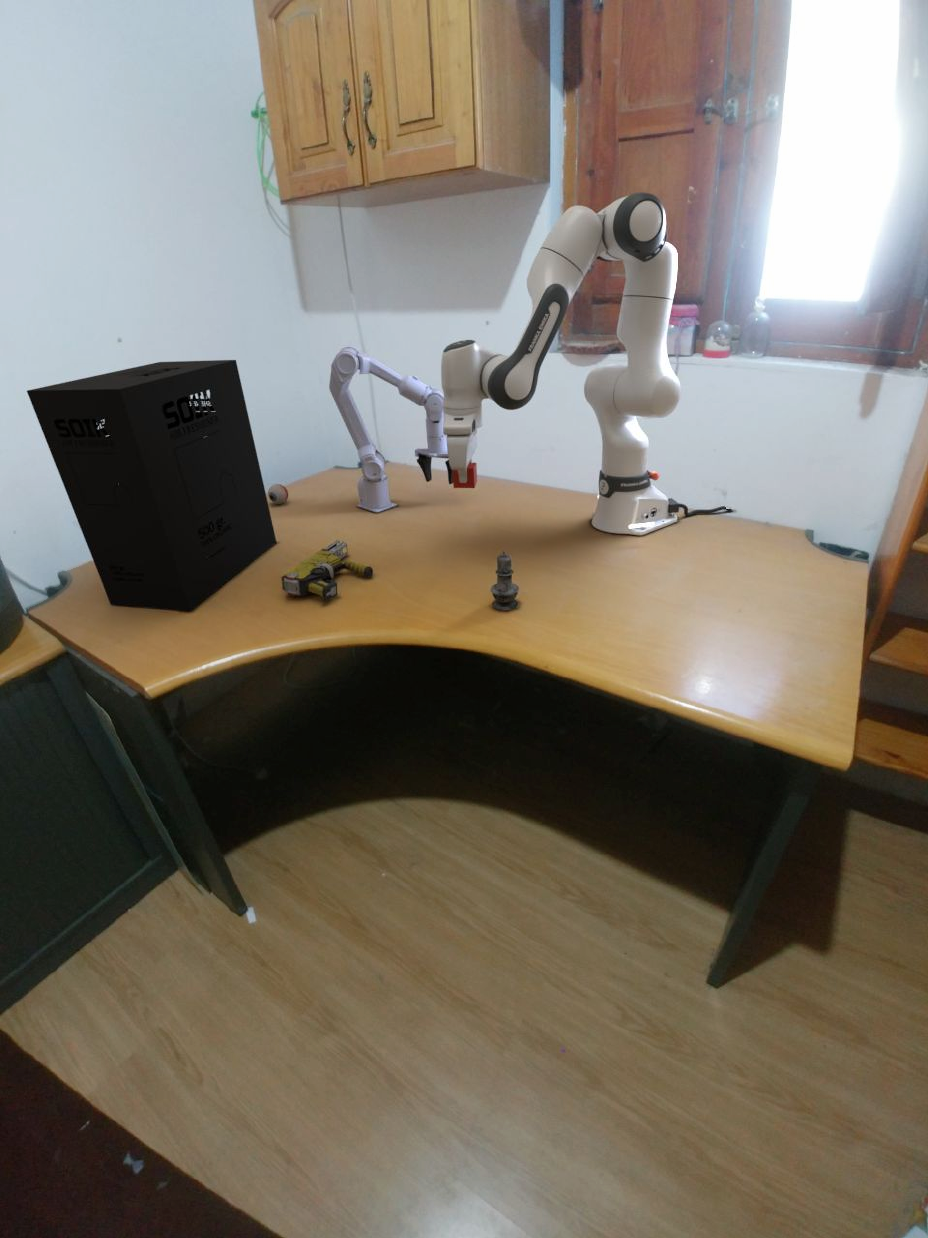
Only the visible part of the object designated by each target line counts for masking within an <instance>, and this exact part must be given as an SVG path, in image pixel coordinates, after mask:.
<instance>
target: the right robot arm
mask: <svg viewBox="0 0 928 1238" xmlns="http://www.w3.org/2000/svg"><path fill="white" fill-rule="evenodd" d="M665 210H666V209H665V206H664V205H663V203H662V201H661V200H660V198H658V197H657V196H656V195H654V194H653V193H649V192H641V191H639V192H634V193H631V194H629V195H625V196H623V197H620V198H618V199H616V200H614V201H613V202H612V203H610V204H609V205H607V206H604V207H603V208H601V209H599V210H598V211H596V212H595V211H594V210H592V209H591V208H590V207H587V206H585V205H572V206H570V207H569V208H567V209H566V210H565V211H564V212H563V214H562V215H561V216H560V217H559V219H558V220H557V221H556V223H555V224H554V226H553V227H552V228H551V230H550V232H549V233H548V234H547V236H546V237H545V239H544V241H543V242H542V244H541V245H540V248H539V250H538V252H537V254H535V255H536V256H535V257H534V259H533V261H532V263H531V266H530V269H529V272H528V274H527V277H526V289H527V292H528V295H529V297H530V299H531V303H532V304H531V305H532V307H531V309H532V310H531V314H530V317H529V320H528V322H527V324H526V326H525V328H524V330H523V332H522V334H521V336H520V338H519V340H518V342H517V344H516V346H515V349H514V350H513V352H511V353H510V355H508V356H507V355H504V354H502V353H498V352H495V351H493V350H490V349H488V348H486V347H485V346H483V345H481V344H479V342H477V341H476V340H473V339H464V340H459V341H456V342H452V343H450V344H449V345H446V347H445V348H444V349H443V351H442V354H441V361H440V380H441V390H442V393H443V396H444V401H443V418H444V424H443V434H444V435H447V437H446V441H447V450H448V458H449V459H448V458H447V459H448V460H449V464H450V467H451V469H452V470H458V474H459V482H460V483H466V482H467V480H468V479H467V466H468V464H469V463H473V462H472V461H473V456H474V454H475V452H476V450H477V448H478V436H477V434H478V429H479V428H481V427H482V426H483V407H482V406H483V405H482V402H483V401H484V400H487V399H489V400H491V401H492V402H494V403H495V404H496V405H497V406H498V407H500V408H502V409H504V410H508V411H514V410H519V409H521V408H523V407H524V406H526V405H527V404H528V403H529V402H530V401H531V400H532V398H533V397H534V395H535V393H536V389H537V387H538V386H537V385H538V380H539V374H540V371H541V367H542V365H543V362H544V361H545V358H546V357H547V354H548V352H549V350H550V348H551V346H552V344H553V341H554V340H555V338H556V335H557V334H558V331H559V329H560V327H561V325H562V323H563V321H564V318H565V316H566V313H567V311H568V308H569V306H570V304H571V301H572V300H573V298H574V296H575V294H576V292H577V290H578V289H579V287H580V285H581V284H582V282H583V279H584V278H585V276H586V274H587V273H588V271H589V269H590V267H591V265H592V264H593V263H594V261H595V260H599V261H603V262H607V263H611V262H616V261H622V263H623V267H624V271H625V282H624V287H623V293H622V297H621V303H620V310H619V315H618V320H617V327H616V336H617V339H618V340H619V342H620V343H621V344H622V345H623V347H624V348H625V351H626V356H627V364H622V363H607V364H602V365H597V366H595V367H594V368H592V369H591V370H590V371H589V373H588V374H587V375H586V378H585V381H584V385H583V394H584V398H585V400H586V402H587V403H588V404H589V405H590V407H591V408H592V410H593V412H594V415H595V416H596V419H597V422H598V425H599V429H600V436H601V441H602V442H601V443H602V444H601V468H600V470H599V474H598V492H599V493H598V495H597V502H596V507H595V511H594V514H593V517H592V520H591V525H592V526H593V527H594V528H595V529H597V530H599V531H601V532H605V533H611V534H623V535H625V534H626V535H632V536H633V535H634V536H645V535H646V534H650V533H652V532H654V531H657V530H660V529H662V528H665V527H668V526H670V525H672V524H675V523H677V522H678V516H677V515H676V514H677V513H679V511H680V508H681V509H683V514H684V516H685V517H691V516H693V515H696V514H712V513H716V512H720V511H722V510H723V511H727V512H728V513H733V512H734V510H733V509H732V508H731V507H729V508H730V509H726V507H725V506H726V505H722V506H718V507H715V508H711V509H710V508H709V509H694V510H692V511H689V507H688V506H687V505H686V504H684V503H681V502H680V503H679V502H677V501H676V500H675V499H673V498H672V497H670V498H668V497H667V496H666V495H665V494H664V493H663V492H661V491H660V490H659V489H658V488H656V487H655V486H654V485H652V483H651V480H653V481H658V479H659V478H660V473H659V472H657V471H654V470H651V471H649V470H648V469H647V466H648V458H649V457H648V456H649V446H650V442H649V437H648V435H647V434H646V433H645V432H644V431H643V430H642V428H641V427H640V424H639V422H638V419H637V418H640V419H646V420H647V419H648V420H649V419H661V418H662V419H663V418H666V417H668V416H669V415H670V414H672V413H673V412H674V411H675V409H676V408H677V406H678V404H679V402H680V399H681V395H682V387H681V383H680V379H679V378H678V376H677V375H676V374H675V372H674V370H673V369H672V366H671V364H670V360H669V357H668V355H669V354H668V347H667V337H668V330H669V325H670V324H669V323H670V318H671V312H672V307H673V301H674V296H675V292H676V285H677V276H678V252H677V249H676V248H675V246H674V245H672V244H671V243H670V242H667V239H668V230H667V215H666V211H665ZM675 513H676V514H675Z"/></svg>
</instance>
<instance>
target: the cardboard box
mask: <svg viewBox="0 0 928 1238" xmlns="http://www.w3.org/2000/svg"><path fill="white" fill-rule="evenodd" d="M238 367H239V366H238V363H237V360H236V359H220V360H219V359H218V360H217V359H215V360H183V361H181V360H180V361H177V360H176V361H157V362H153V363H148V364H144V365H140V366H134V367H130V368H124V369H121V370H116V371H111V372H107V373H103V374H98V375H93V376H89V377H83V378H79V379H75V380H70V381H65V382H61V383H56V384H51V385H46V386H41V387H38V388H33V389H32V388H31V389H28V390H26V393H27V396H28V398H29V401H30V404H31V406H32V409H33V412H34V414H35V416H36V418H37V421H38V424H39V426H40V428H41V431H42V434H43V436H44V439H45V441H46V443H47V446H48V450H49V451H50V454H51V457H52V459H53V462H54V465H55V467H56V469H57V472H58V474H59V477H60V480H61V482H62V485H63V487H64V489H65V492H66V494H67V497H68V499H69V502H70V505H71V508H72V510H73V513H74V515H75V518H76V519H77V522H78V526H79V529H80V530H81V533H82V535H83V538H84V540H85V543H86V546H87V547H88V550H89V553H90V556H91V559H92V561H93V564H94V566H95V569H96V571H97V573H98V576H99V579H100V581H101V584H102V587H103V588H104V591H105V593H106V594H105V595H106V597H107V599H108V602H109V604H110V606H117V607H130V608H144V609H158V610H170V611H171V610H172V611H184V612H192V611H193V610H194V609H196V608H197V607H198V606H199V605H200V604H202V603H203V602H204V601H205V600H206V599H208V598H209V597H211V596H212V595H213V594H214V593H215V592H217V591H218V590H219V589H221V587H223V586H224V585H225V584H227V583H228V582H229V581H230V580H232V579H233V578H234V577H235V576H237V575H238V574H239V573H240V572H241V571H243V570H244V569H245V568H246V567H248V566H249V565H251V564H252V563H253V562H254V561H256V560H257V559H258V558H259V557H260V556H262V555H263V554H264V553H265V552H267V551H268V550H269V549H270V548H271V547H273V546H274V545H276V543H277V538H276V534H275V529H274V524H273V520H272V516H271V511H270V506H269V502H268V496H267V494H266V493H267V492H266V489H265V485H264V480H263V475H262V471H261V466H260V462H259V457H258V453H257V449H256V444H255V440H254V434H253V431H252V427H251V421H250V417H249V413H248V412H249V411H248V409H247V403H246V399H245V395H244V390H243V385H242V381H241V375H240V373H239V368H238ZM208 392H209V396H208ZM196 394H197V396H196ZM191 396H192V398H191ZM201 396H202V397H203V398H201Z"/></svg>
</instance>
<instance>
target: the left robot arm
mask: <svg viewBox="0 0 928 1238" xmlns="http://www.w3.org/2000/svg"><path fill="white" fill-rule="evenodd" d="M358 370H359V372H358ZM357 372H358V373H359V375H369V374H371V375H373V376H375V377H376V378H379V379H380V380H382V381H384V382H386V383H388V384H389V385H392V386H393V387H395V388H397V390H398V393H399V396H401V397H403V398H405V399H407V400H409V401H411V402H412V403H414V404H416V405H417V406H418V407H423V408H424V410H425V417H426V418H425V429H426V443H427V448H419V447H418V448H416V449H414V456H415V457H416V462H417V464H418V465H419V467H420V469H421V471H422V473H423V475H424V479H425V481H426V483H429V482H431V481H432V479H433V475H432V460H433V459H432V458H436V459H437V458H438V459H447V460H445V462H444V464H445V467H446V471H447V478H448V480H447V481H448V484H449V485H452V484H453V470H452V469H451V467H450V464H449V458H448V450H447V441H446V437H447V435H444V434H443V424H444V418H443V401H444V394H443V392H441V391H439V389H437V388H434V386H433V385H431V384H430V385H428V384H425V382H422V381H421V380H419V377H418V376H417V375H415V374H414V375H413V376H412V375H411V374H408V375H404V376H402V375H401V374H399V373H398V372H396V371H394V370H393V369H391V368H390V367H388V366H387V365H385V364H383V363H382V362H380V361H379V360H377V359H376V358H374V357H373V356H370V355H369V354H367V353H365V352H364V351H358V350H357V349H356V348H354V347H352V346H345V347H343V348H341V349H340V350H339V352H337V353H336V355H335V356H334V358H333V361H332V362H331V364H330V376H329V384H328V388H329V389H328V390H329V391H330V392H329V393H330V394H331V396H332V398H333V401H334V403H335V405H336V407H337V409H338V411H339V413H340V416H341V418H342V420H343V422H344V424H345V426H346V429H347V430H348V431H347V432H348V433H349V435H350V438H351V440H352V442H353V444H354V446H355V448H356V450H357V454H358V460H359V461H360V463H361V474H362V476H361V477H359V479H358V481H357V492H358V499H359V504H357V508H362V509H364V510H367V511H370V512H373V513H375V514H377V513H381V512H383V511H386V510H389V509H392V508H394V507H397V506H398V503H395V502H391V495H390V494H391V493H390V485H389V478H388V477H389V476H388V474H387V473H386V472H385V466H386V458H385V455H383V454H382V453H381V452H380V451H379V450H378V449H377V446H376V445H375V443H374V442H373V440H372V438H371V435H370V434H369V431H368V428H367V427H366V424H365V422H364V420H363V417H362V416H361V413H360V411H359V409H358V406H357V404H356V402H355V400H354V398H353V395H352V393H351V391H350V389H349V387H350V384H351V382H352V379H353V377H354V376H355V374H356V373H357Z"/></svg>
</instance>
